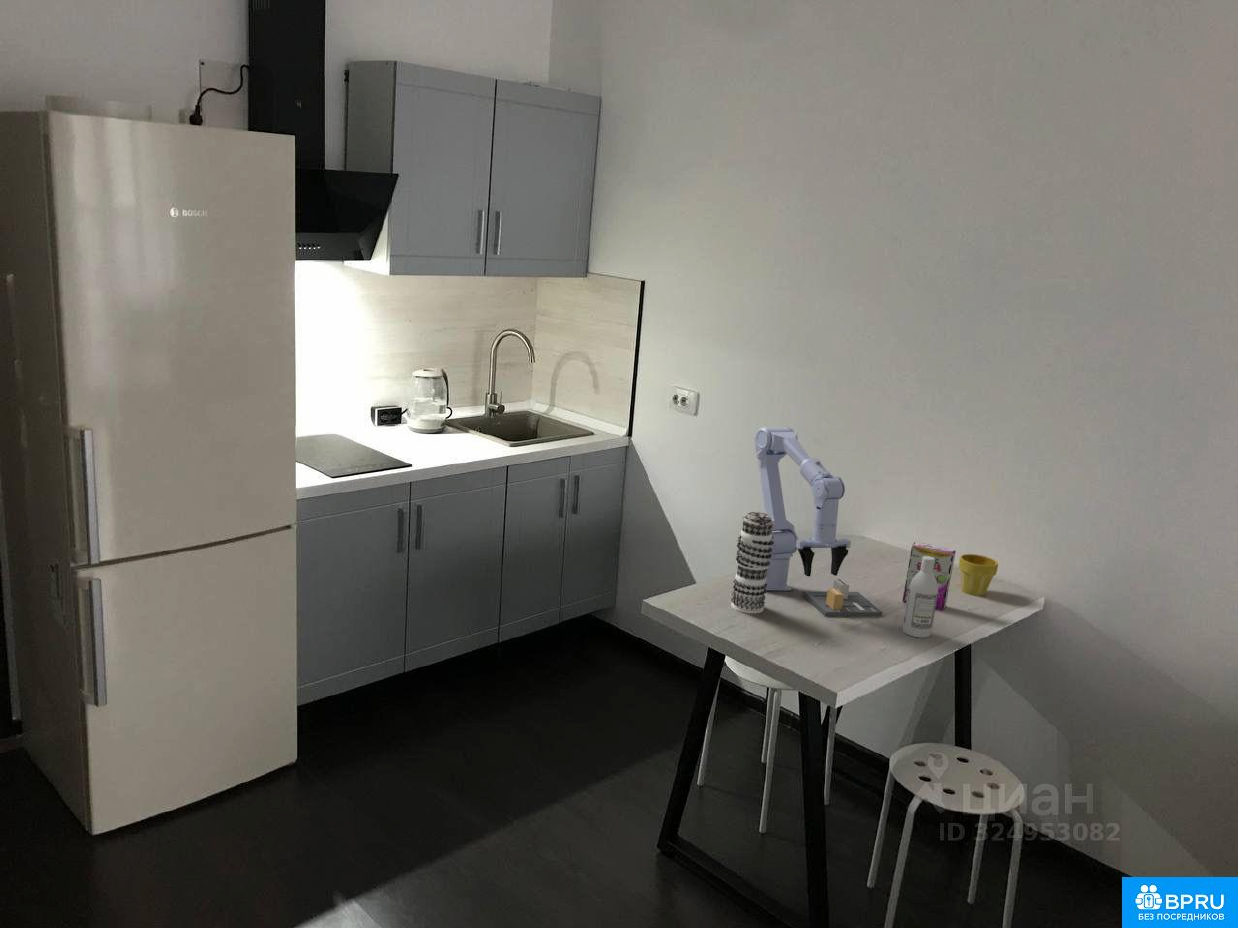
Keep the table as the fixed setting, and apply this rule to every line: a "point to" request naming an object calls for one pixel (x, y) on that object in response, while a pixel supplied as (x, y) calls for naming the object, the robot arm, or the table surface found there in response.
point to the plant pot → (976, 573)
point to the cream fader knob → (841, 587)
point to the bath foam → (921, 601)
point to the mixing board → (843, 605)
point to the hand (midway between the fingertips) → (820, 575)
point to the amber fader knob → (834, 598)
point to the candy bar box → (940, 569)
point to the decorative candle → (752, 563)
